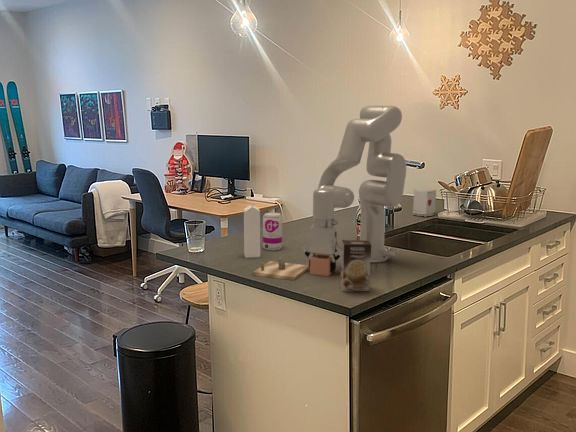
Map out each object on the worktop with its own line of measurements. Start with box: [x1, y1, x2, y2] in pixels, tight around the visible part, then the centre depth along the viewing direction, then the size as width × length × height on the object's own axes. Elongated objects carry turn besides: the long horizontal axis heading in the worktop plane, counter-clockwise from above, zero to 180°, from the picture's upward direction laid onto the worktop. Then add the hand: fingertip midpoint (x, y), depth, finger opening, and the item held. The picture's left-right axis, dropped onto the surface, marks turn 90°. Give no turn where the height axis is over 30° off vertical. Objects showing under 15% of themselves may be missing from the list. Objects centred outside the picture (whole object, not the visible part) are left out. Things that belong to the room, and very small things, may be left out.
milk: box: [243, 200, 261, 259], centre depth 232 cm, size 6×6×22 cm
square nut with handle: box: [309, 254, 333, 277], centre depth 212 cm, size 12×7×6 cm, turn 158°
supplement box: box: [412, 187, 437, 214], centre depth 320 cm, size 9×9×15 cm
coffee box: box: [339, 239, 372, 292], centre depth 190 cm, size 9×6×16 cm
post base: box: [252, 257, 310, 281], centre depth 211 cm, size 16×16×5 cm
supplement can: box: [262, 212, 283, 252], centre depth 244 cm, size 8×8×15 cm
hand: (322, 270), depth 210 cm, fingers closed on square nut with handle, 7 cm apart
